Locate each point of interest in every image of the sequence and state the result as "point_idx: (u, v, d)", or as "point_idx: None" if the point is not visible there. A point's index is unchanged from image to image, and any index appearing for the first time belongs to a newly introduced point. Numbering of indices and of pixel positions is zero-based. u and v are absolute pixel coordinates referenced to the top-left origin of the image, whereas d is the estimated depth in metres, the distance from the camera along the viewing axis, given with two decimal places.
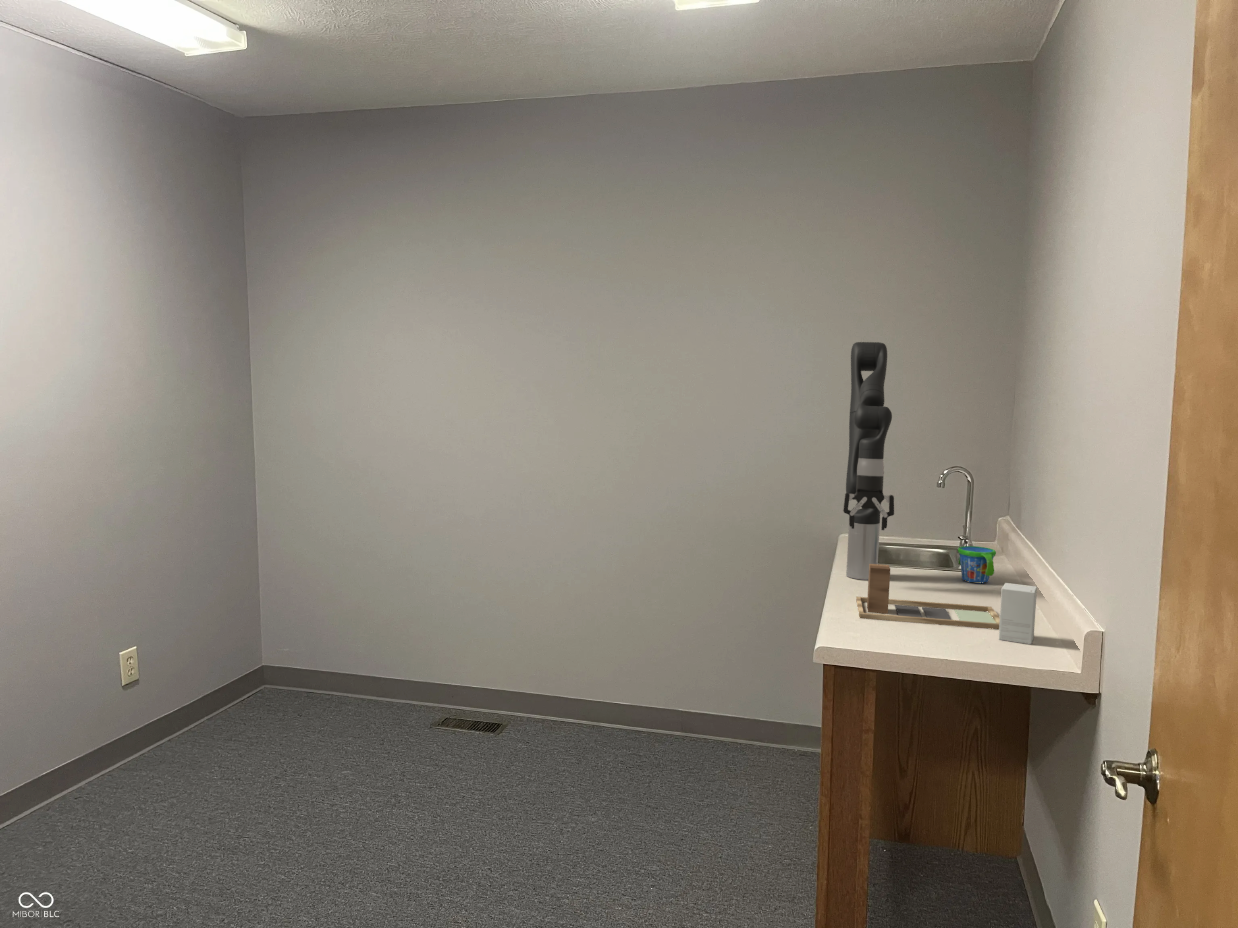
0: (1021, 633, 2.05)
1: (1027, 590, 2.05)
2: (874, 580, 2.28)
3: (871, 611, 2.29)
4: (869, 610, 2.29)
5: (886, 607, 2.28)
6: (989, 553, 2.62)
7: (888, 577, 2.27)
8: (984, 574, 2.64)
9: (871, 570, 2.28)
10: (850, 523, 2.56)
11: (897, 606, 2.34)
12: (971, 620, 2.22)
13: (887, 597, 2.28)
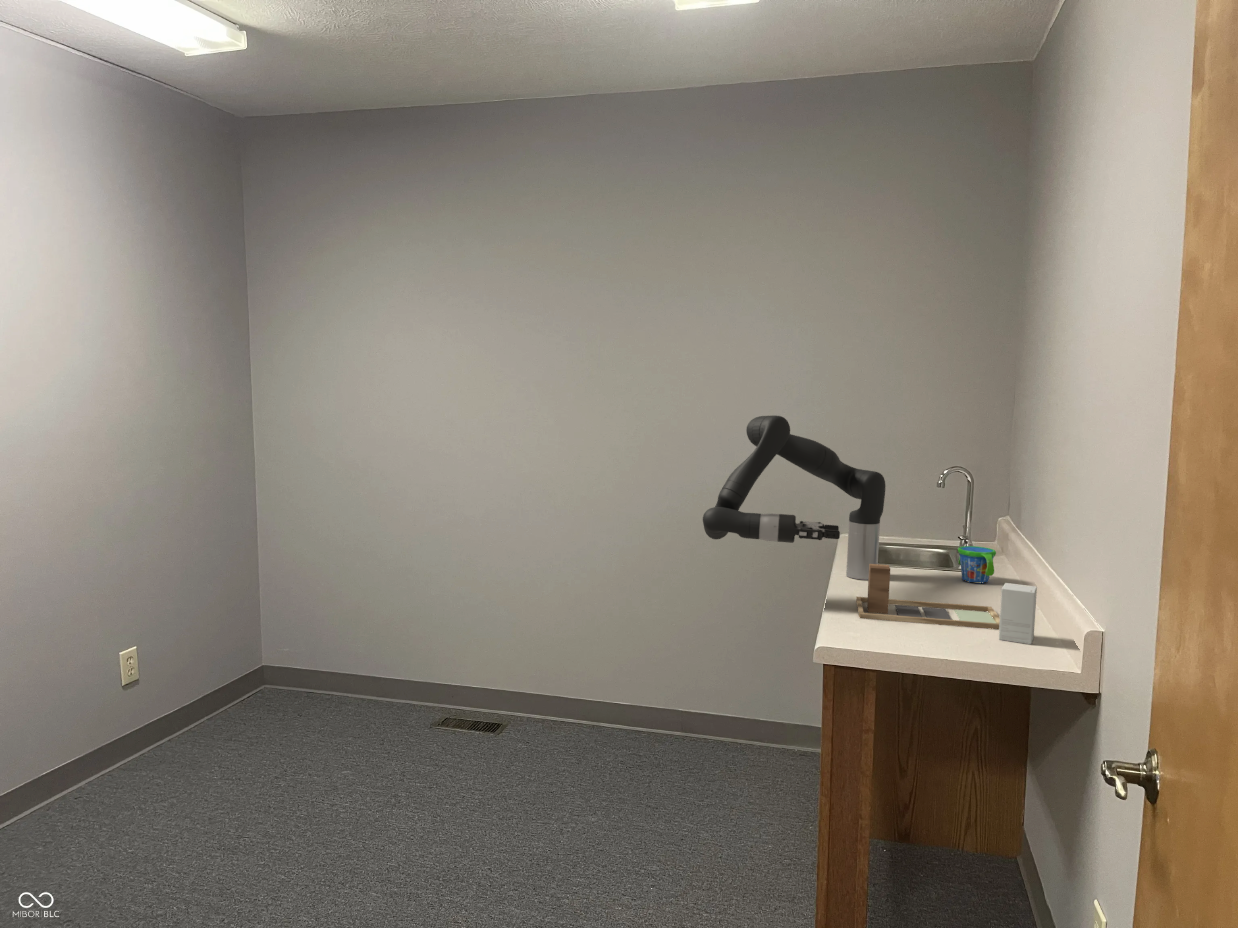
0: (1021, 633, 2.05)
1: (1027, 590, 2.05)
2: (874, 580, 2.28)
3: (871, 611, 2.29)
4: (869, 610, 2.29)
5: (886, 607, 2.28)
6: (989, 553, 2.62)
7: (888, 577, 2.27)
8: (984, 574, 2.64)
9: (871, 570, 2.28)
10: None
11: (897, 606, 2.34)
12: (971, 620, 2.22)
13: (887, 597, 2.28)
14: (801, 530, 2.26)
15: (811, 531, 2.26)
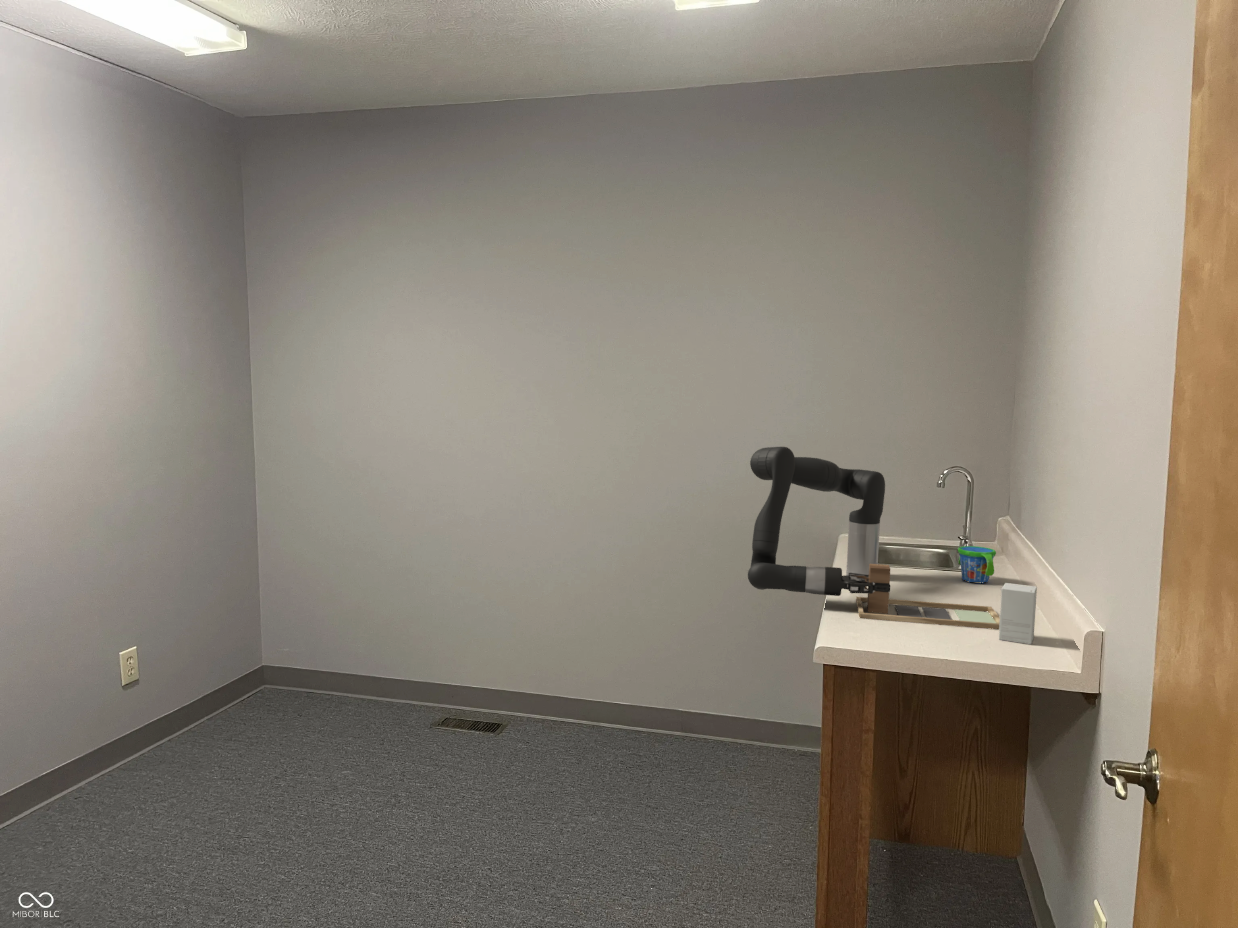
0: (1021, 633, 2.05)
1: (1027, 590, 2.05)
2: (874, 580, 2.28)
3: (871, 611, 2.29)
4: (869, 610, 2.29)
5: (886, 607, 2.28)
6: (989, 553, 2.62)
7: (888, 577, 2.27)
8: (984, 574, 2.64)
9: (871, 570, 2.28)
10: None
11: (897, 606, 2.34)
12: (971, 620, 2.22)
13: (887, 597, 2.28)
14: (853, 585, 2.25)
15: (863, 585, 2.25)
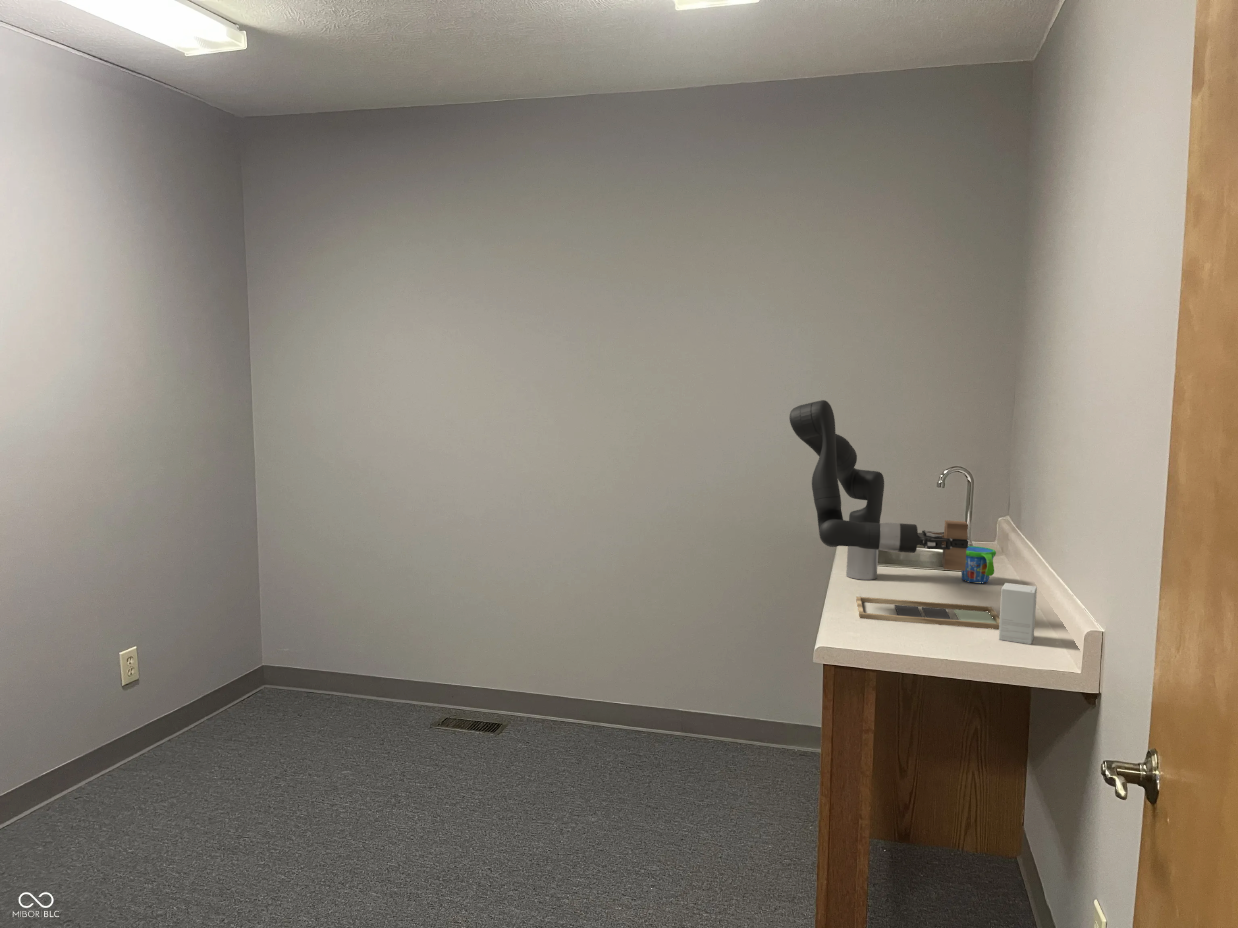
0: (1021, 633, 2.05)
1: (1027, 590, 2.05)
2: (951, 536, 2.23)
3: (948, 568, 2.23)
4: (945, 567, 2.24)
5: (963, 564, 2.22)
6: (989, 553, 2.62)
7: (966, 533, 2.22)
8: (984, 574, 2.64)
9: (948, 526, 2.22)
10: None
11: (897, 606, 2.34)
12: (971, 620, 2.22)
13: (964, 553, 2.22)
14: (930, 540, 2.20)
15: (940, 541, 2.20)
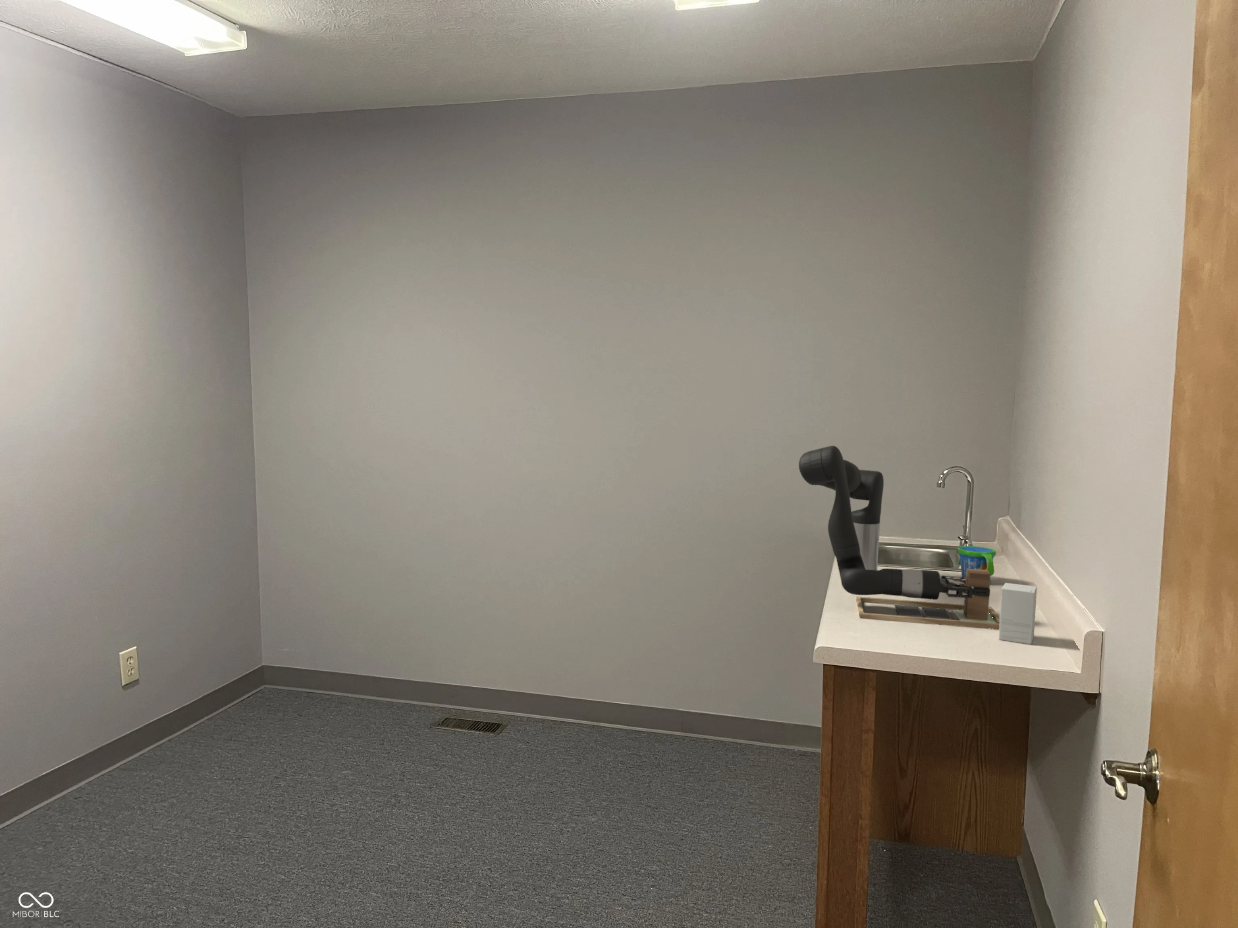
0: (1021, 633, 2.05)
1: (1027, 590, 2.05)
2: None
3: (970, 617, 2.24)
4: (968, 616, 2.24)
5: (986, 613, 2.23)
6: (989, 553, 2.62)
7: (988, 582, 2.22)
8: None
9: (970, 575, 2.23)
10: None
11: (897, 606, 2.34)
12: (971, 620, 2.22)
13: (987, 603, 2.22)
14: (951, 588, 2.20)
15: (961, 589, 2.20)
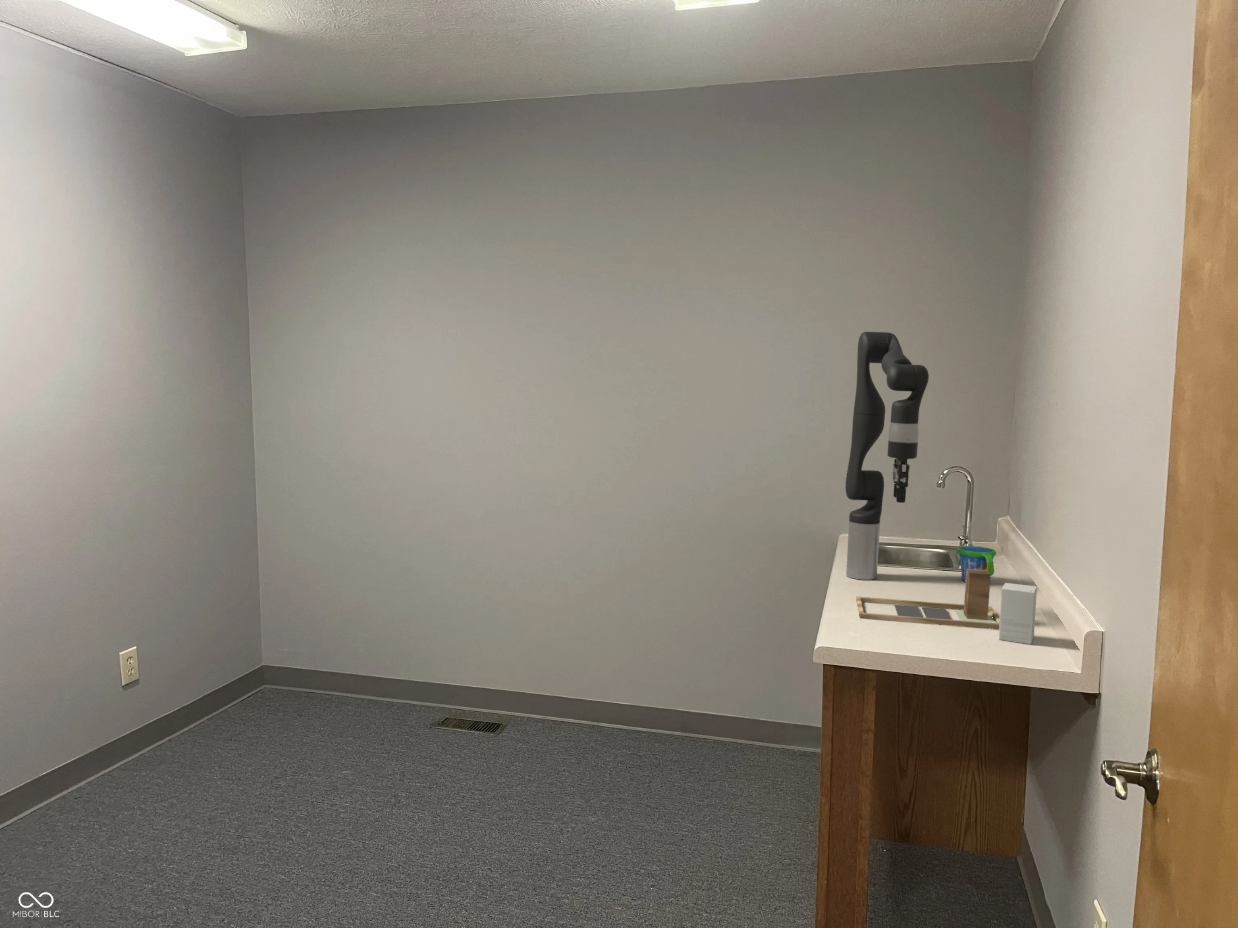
0: (1021, 633, 2.05)
1: (1027, 590, 2.05)
2: (973, 586, 2.23)
3: (970, 617, 2.24)
4: (968, 616, 2.24)
5: (986, 613, 2.23)
6: (989, 553, 2.62)
7: (988, 582, 2.22)
8: None
9: (970, 575, 2.23)
10: None
11: (897, 606, 2.34)
12: (971, 620, 2.22)
13: (987, 603, 2.22)
14: (907, 466, 2.26)
15: (906, 476, 2.26)
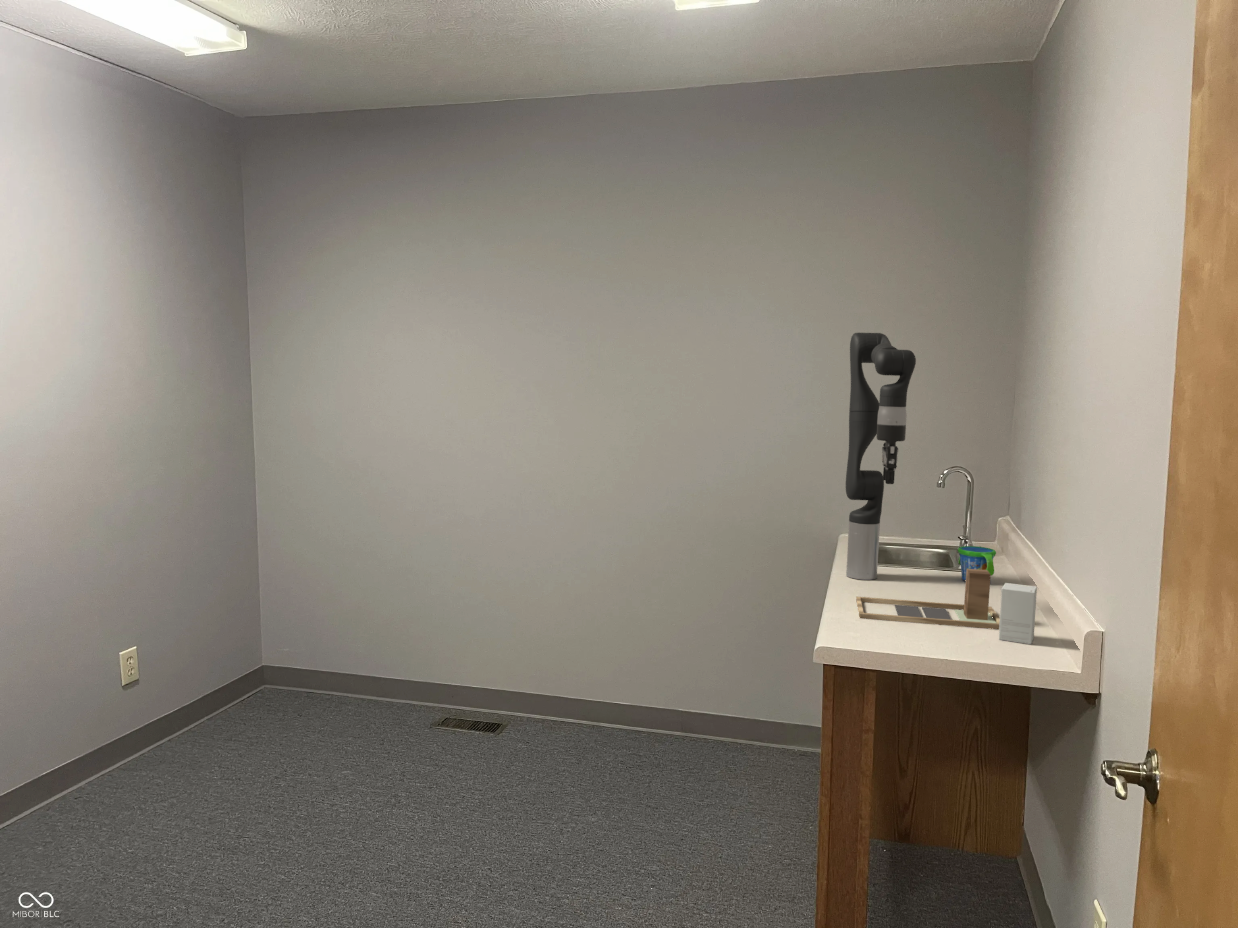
0: (1021, 633, 2.05)
1: (1027, 590, 2.05)
2: (973, 586, 2.23)
3: (970, 617, 2.24)
4: (968, 616, 2.24)
5: (986, 613, 2.23)
6: (989, 553, 2.62)
7: (988, 582, 2.22)
8: None
9: (970, 575, 2.23)
10: None
11: (897, 606, 2.34)
12: (971, 620, 2.22)
13: (987, 603, 2.22)
14: (895, 448, 2.31)
15: (895, 458, 2.31)
